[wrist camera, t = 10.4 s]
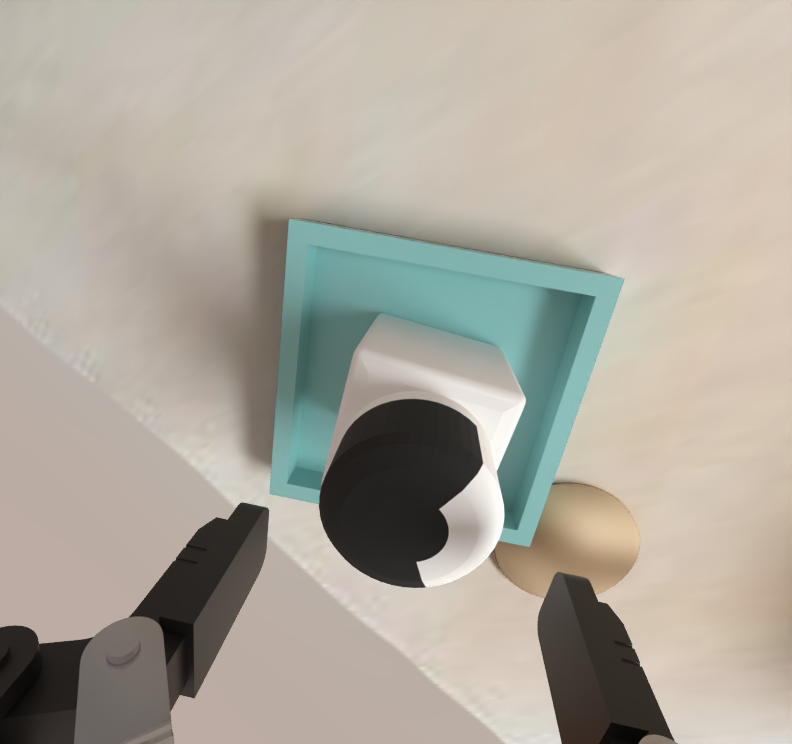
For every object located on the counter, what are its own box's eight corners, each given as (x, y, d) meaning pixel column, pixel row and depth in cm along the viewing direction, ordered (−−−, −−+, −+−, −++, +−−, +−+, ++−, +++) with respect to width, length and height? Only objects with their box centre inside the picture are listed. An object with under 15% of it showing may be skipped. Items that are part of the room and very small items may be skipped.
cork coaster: (513, 470, 26) (514, 475, 26) (658, 499, 26) (662, 504, 25) (479, 578, 29) (480, 584, 29) (608, 605, 29) (611, 612, 28)
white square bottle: (349, 421, 25) (278, 581, 14) (378, 310, 23) (320, 396, 12) (462, 455, 25) (480, 640, 14) (504, 346, 23) (565, 468, 12)
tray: (304, 219, 22) (288, 218, 20) (605, 273, 22) (624, 279, 19) (283, 471, 28) (269, 494, 26) (522, 520, 27) (529, 547, 25)
